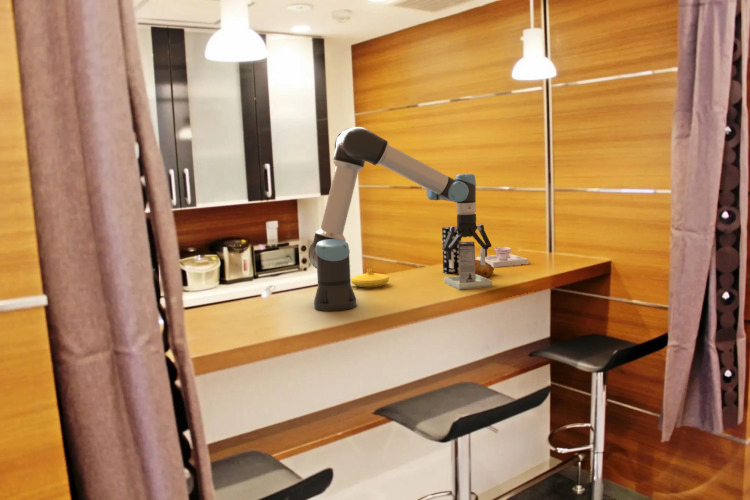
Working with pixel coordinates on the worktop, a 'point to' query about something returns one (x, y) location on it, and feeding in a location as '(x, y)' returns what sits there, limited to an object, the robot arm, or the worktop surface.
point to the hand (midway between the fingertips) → (467, 266)
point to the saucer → (518, 261)
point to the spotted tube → (455, 251)
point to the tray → (478, 283)
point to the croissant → (483, 269)
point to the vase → (370, 279)
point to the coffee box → (466, 262)
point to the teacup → (502, 254)
